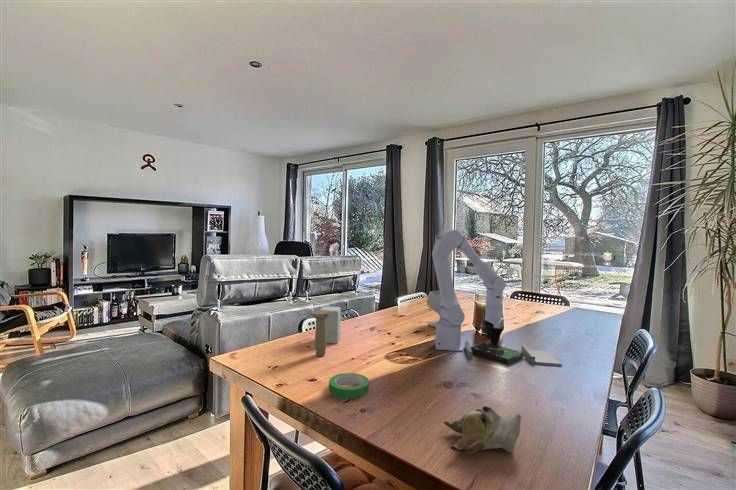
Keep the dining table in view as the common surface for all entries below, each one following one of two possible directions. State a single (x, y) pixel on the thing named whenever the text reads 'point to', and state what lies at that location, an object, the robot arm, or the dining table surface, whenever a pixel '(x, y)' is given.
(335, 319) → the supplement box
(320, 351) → the handle
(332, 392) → the tape roll
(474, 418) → the ceramic sculpture
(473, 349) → the disk drive
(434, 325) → the chalice
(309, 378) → the dining table surface
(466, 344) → the grey flat panel
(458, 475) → the dining table surface
